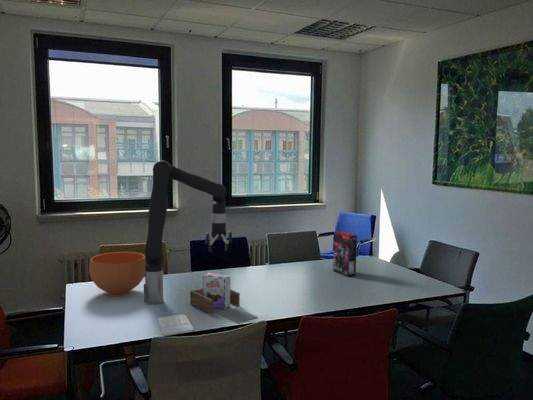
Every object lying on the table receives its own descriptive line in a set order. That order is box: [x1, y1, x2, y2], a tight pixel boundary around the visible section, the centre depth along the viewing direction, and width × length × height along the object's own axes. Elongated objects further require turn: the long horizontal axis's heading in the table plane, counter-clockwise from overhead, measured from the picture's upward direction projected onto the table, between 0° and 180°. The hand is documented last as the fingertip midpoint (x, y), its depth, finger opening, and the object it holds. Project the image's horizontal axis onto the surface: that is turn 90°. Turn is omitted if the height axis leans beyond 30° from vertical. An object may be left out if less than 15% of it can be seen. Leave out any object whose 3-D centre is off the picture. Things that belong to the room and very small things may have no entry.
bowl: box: [88, 251, 145, 298], centre depth 250 cm, size 30×30×20 cm
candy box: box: [202, 272, 231, 310], centre depth 232 cm, size 14×6×16 cm, turn 62°
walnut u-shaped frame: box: [189, 287, 241, 315], centre depth 234 cm, size 18×19×7 cm
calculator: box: [157, 314, 194, 336], centre depth 206 cm, size 13×20×2 cm, turn 22°
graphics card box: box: [332, 231, 358, 277], centre depth 298 cm, size 17×7×27 cm, turn 28°
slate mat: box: [217, 307, 258, 324], centre depth 220 cm, size 12×17×1 cm
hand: (218, 251), depth 241 cm, fingers open, 8 cm apart
